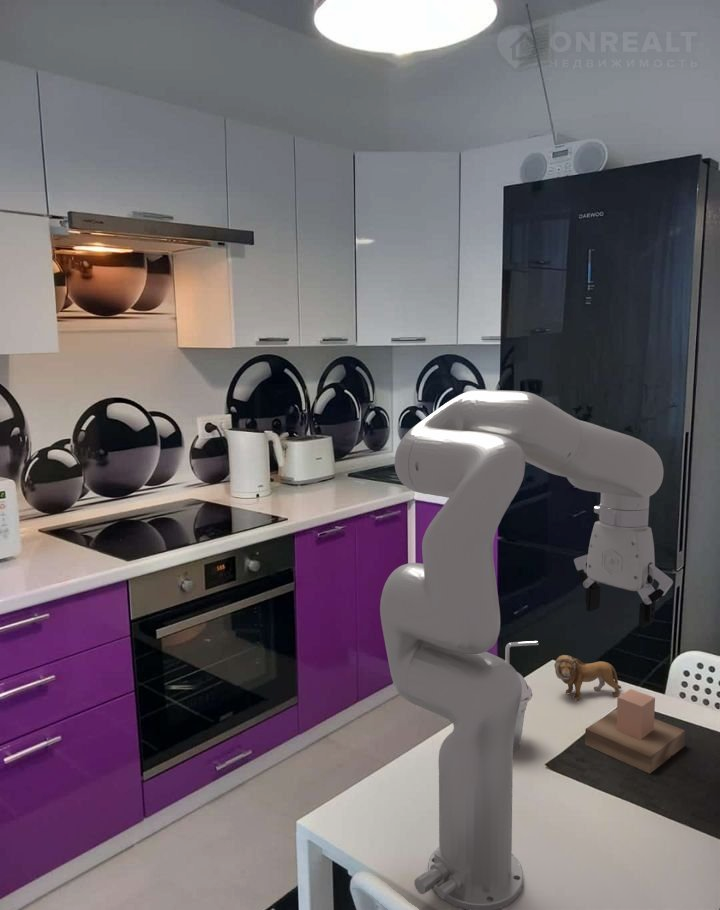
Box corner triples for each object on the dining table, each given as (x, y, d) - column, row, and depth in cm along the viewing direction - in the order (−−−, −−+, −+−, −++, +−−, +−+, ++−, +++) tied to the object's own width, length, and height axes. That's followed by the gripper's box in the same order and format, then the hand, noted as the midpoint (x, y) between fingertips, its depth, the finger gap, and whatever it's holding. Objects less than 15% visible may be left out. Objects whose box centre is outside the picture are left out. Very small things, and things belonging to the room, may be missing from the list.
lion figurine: (561, 706, 144) (562, 662, 142) (548, 693, 149) (549, 651, 148) (628, 695, 147) (630, 653, 146) (613, 683, 153) (614, 642, 151)
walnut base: (649, 773, 121) (650, 756, 121) (585, 744, 130) (585, 728, 130) (684, 746, 129) (685, 730, 129) (621, 720, 138) (621, 705, 138)
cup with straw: (500, 727, 137) (501, 624, 134) (543, 745, 130) (545, 637, 127) (472, 745, 131) (473, 638, 128) (516, 765, 124) (518, 653, 121)
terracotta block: (640, 739, 126) (642, 706, 125) (616, 729, 129) (617, 697, 128) (653, 729, 129) (655, 697, 128) (629, 720, 132) (630, 688, 131)
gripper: (565, 511, 126) (561, 608, 128) (662, 529, 113) (656, 637, 115) (590, 506, 131) (585, 599, 133) (686, 523, 118) (679, 626, 120)
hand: (618, 617), depth 124 cm, fingers open, 9 cm apart
